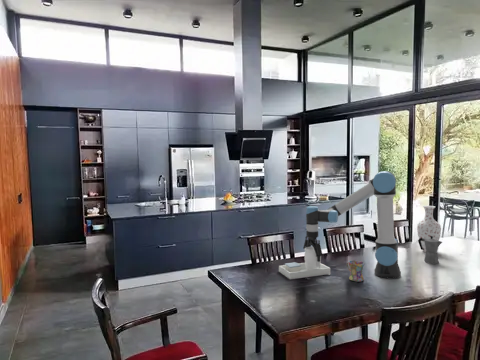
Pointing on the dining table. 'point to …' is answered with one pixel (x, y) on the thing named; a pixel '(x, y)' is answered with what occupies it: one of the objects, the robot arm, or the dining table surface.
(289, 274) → the white rectangular tray
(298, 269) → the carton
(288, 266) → the lid
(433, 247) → the coffeepot
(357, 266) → the candy bag
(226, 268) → the dining table surface
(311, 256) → the jar
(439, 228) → the vase
